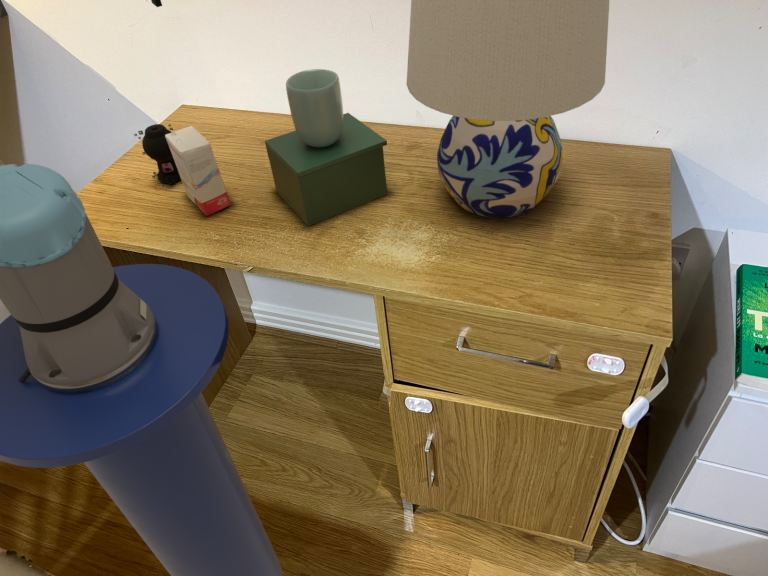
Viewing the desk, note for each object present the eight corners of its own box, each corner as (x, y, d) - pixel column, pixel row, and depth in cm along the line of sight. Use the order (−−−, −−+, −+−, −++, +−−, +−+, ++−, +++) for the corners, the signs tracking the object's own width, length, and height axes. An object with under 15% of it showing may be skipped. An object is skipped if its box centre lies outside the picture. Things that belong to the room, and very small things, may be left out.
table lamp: (440, 143, 109) (436, -117, 82) (593, 160, 100) (644, -123, 74) (388, 228, 91) (361, -70, 64) (570, 258, 82) (627, -72, 55)
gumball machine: (151, 189, 105) (131, 138, 98) (153, 173, 109) (134, 123, 103) (189, 182, 106) (172, 131, 99) (190, 166, 110) (173, 116, 103)
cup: (354, 133, 94) (347, 71, 88) (332, 156, 89) (322, 93, 82) (312, 127, 97) (302, 66, 90) (288, 149, 92) (275, 87, 85)
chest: (350, 163, 106) (344, 118, 100) (387, 194, 98) (382, 146, 92) (276, 191, 101) (265, 145, 95) (308, 226, 93) (298, 178, 87)
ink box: (232, 206, 99) (213, 142, 91) (203, 218, 97) (181, 154, 89) (212, 185, 104) (192, 123, 96) (185, 196, 102) (163, 133, 95)
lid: (348, 116, 100) (348, 112, 100) (387, 144, 92) (386, 140, 92) (265, 145, 95) (264, 140, 95) (298, 177, 87) (297, 173, 86)
